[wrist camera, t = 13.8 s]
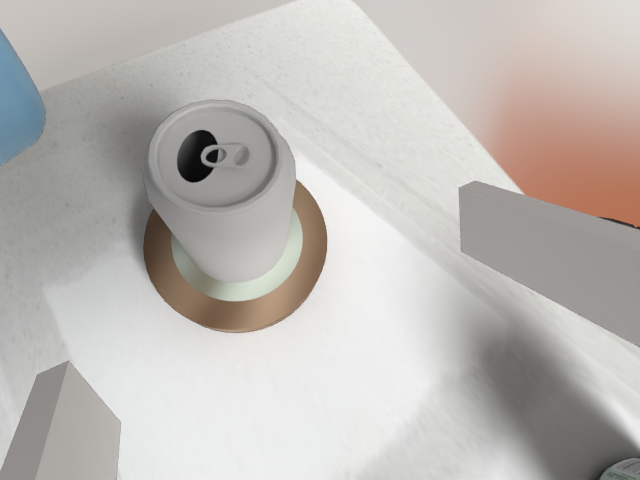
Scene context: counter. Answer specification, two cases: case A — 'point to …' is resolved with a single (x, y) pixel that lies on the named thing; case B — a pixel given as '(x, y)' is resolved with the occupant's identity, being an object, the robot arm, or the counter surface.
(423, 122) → the counter surface
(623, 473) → the coffee jar
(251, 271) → the can
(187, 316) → the pedestal
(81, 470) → the robot arm
